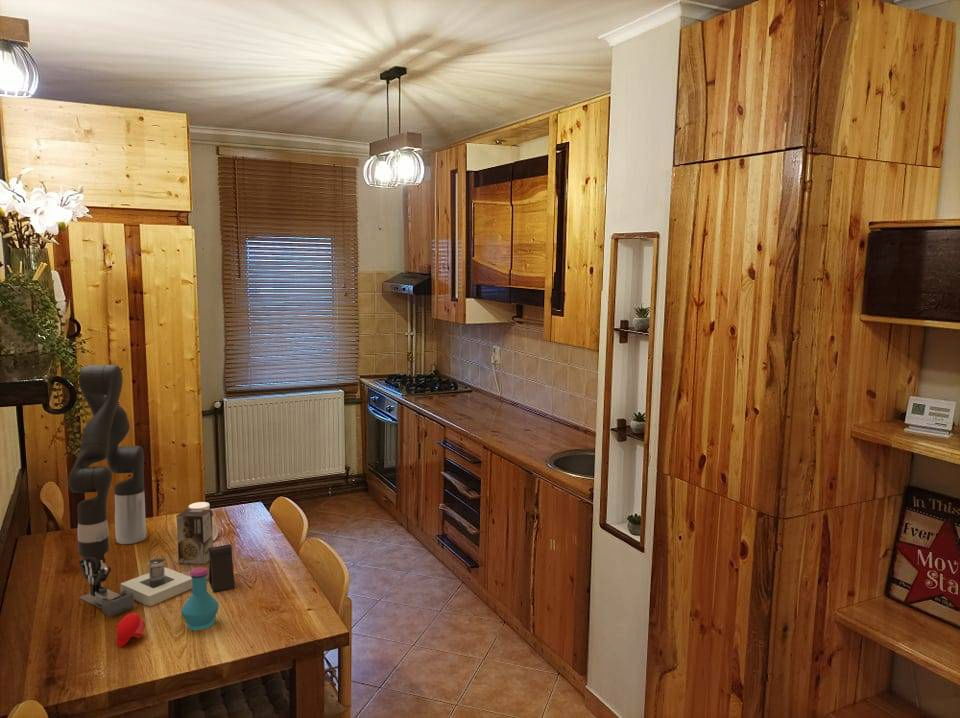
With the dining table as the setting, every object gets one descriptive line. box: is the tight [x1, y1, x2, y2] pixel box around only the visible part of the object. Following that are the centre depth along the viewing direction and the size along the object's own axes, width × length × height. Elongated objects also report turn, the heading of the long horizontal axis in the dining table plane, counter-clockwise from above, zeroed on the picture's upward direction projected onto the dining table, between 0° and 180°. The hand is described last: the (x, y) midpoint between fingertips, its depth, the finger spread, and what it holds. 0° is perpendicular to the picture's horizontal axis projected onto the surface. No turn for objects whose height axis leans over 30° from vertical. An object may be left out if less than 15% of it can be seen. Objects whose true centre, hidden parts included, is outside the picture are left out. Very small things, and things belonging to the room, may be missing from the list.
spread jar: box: [188, 501, 219, 541], centre depth 241 cm, size 12×11×12 cm
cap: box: [115, 612, 146, 648], centre depth 174 cm, size 8×6×6 cm
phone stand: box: [207, 544, 236, 593], centre depth 206 cm, size 9×6×12 cm, turn 30°
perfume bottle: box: [181, 567, 220, 631], centre depth 182 cm, size 9×9×15 cm
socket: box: [119, 566, 192, 607], centre depth 201 cm, size 14×14×3 cm
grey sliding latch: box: [78, 590, 135, 618], centre depth 193 cm, size 18×7×4 cm, turn 58°
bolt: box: [95, 585, 122, 605], centre depth 192 cm, size 8×3×4 cm, turn 58°
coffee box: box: [175, 508, 214, 565], centre depth 223 cm, size 9×6×16 cm
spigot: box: [147, 557, 166, 588], centre depth 201 cm, size 5×5×9 cm
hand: (96, 594), depth 195 cm, fingers closed
